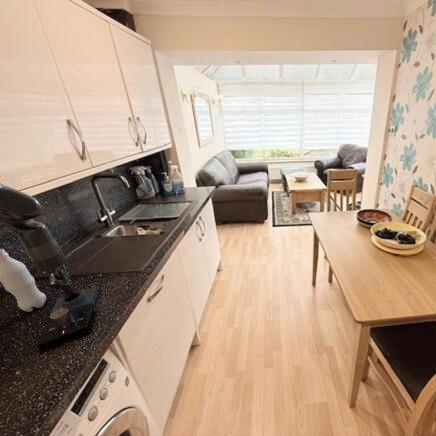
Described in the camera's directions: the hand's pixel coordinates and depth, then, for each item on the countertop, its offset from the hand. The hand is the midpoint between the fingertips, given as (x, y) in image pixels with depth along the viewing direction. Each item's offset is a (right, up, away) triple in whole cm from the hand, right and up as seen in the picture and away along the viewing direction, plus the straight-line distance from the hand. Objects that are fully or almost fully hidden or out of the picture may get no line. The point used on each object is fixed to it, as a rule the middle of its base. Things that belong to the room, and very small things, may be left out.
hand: (70, 293), depth 87 cm
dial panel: (+8, -10, -8) cm, 15 cm away
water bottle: (-16, -6, +3) cm, 17 cm away
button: (0, -2, +1) cm, 2 cm away
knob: (+8, -7, -10) cm, 14 cm away
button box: (0, -5, +3) cm, 6 cm away
